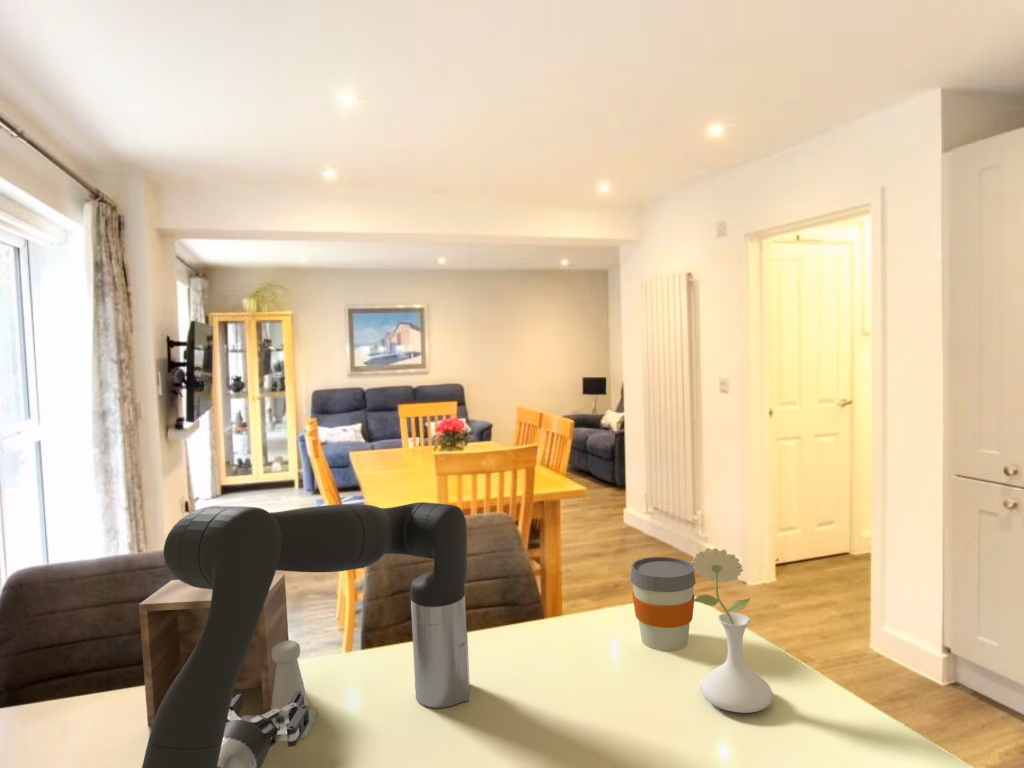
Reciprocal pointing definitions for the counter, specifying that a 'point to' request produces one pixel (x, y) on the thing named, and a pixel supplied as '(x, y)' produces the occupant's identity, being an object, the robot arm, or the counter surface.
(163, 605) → the cubby
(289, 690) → the salt shaker
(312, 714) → the mat
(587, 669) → the counter surface
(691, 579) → the reusable coffee cup
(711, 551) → the flower in vase
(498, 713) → the counter surface
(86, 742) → the counter surface
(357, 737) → the counter surface
